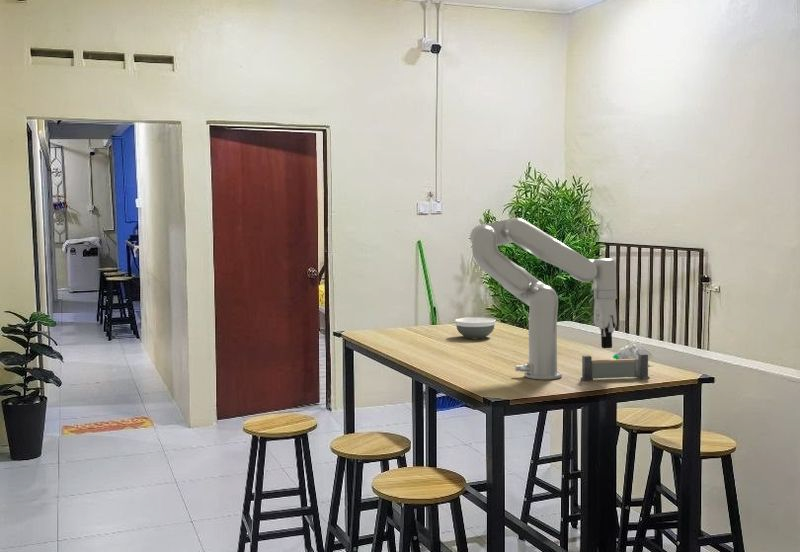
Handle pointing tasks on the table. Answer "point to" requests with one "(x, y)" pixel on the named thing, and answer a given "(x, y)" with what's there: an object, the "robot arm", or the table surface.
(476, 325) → the bowl
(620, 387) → the table surface
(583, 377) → the gate posts
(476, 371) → the table surface
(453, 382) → the table surface
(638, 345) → the crumpled plastic bottle
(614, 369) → the gate leaf
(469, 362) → the table surface
